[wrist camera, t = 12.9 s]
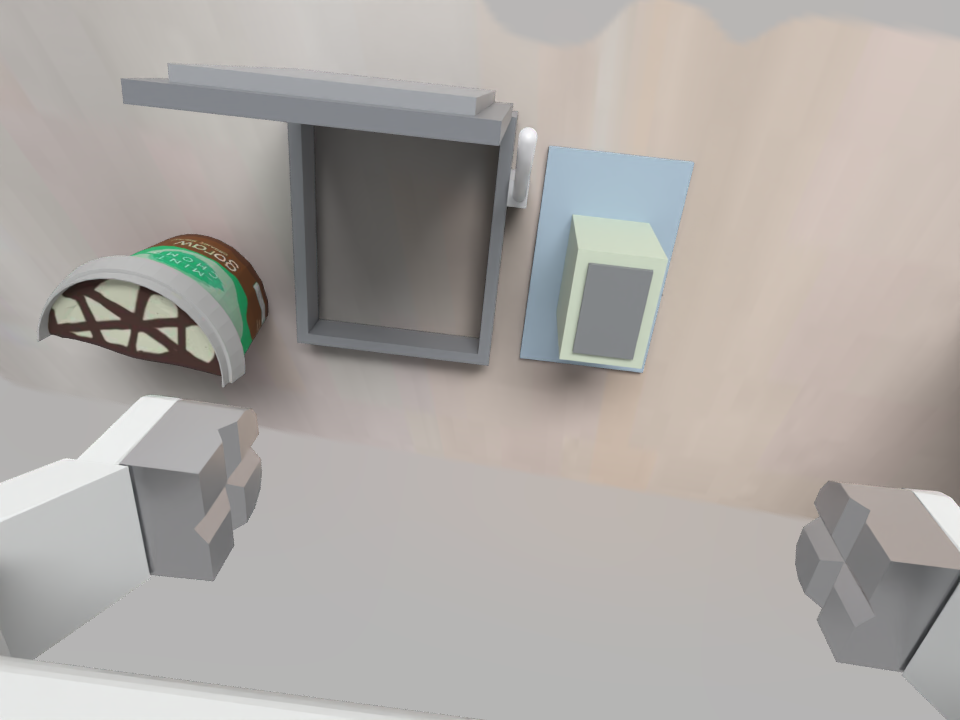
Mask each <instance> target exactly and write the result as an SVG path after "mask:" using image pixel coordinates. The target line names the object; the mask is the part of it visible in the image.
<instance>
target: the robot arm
mask: <svg viewBox="0 0 960 720" xmlns="http://www.w3.org/2000/svg"><path fill="white" fill-rule="evenodd" d="M258 435H259V431H258V422H257V415H256V413H255V412H254V411H253V410H252V409H251V408H244V407H238V406H231V405H224V404H217V403H210V402H203V401H196V400H189V399H181V398H175V397H166V396H158V395H147V396H142V397H141V398H140V399H139V400H138V401H137V402H135V403H134V404H133V405H132V406H131V407H130V408H129V409H128V410H127V411H126V412H125V413H124V414H123V415H122V416H121V417H120V418H119V419H118V420H117V421H116V422H115V423H114V424H113V425H112V426H111V427H110V428H109V429H108V430H107V431H106V432H105V433H103V434H102V435H101V436H100V437H99V439H97V440H96V441H95V442H94V443H93V444H92V445H91V446H90V447H89V448H88V449H87V450H86V451H85V452H84V453H83V454H82V455H81V456H80V457H79V458H78V459H77V460H75V459H66V458H65V459H62V460H59V461H57V462H54V463H51V464H49V465H46V466H43V467H41V468H38V469H36V470H33V471H30V472H28V473H25V474H22V475H20V476H17V477H15V478H12V479H9V480H7V481H4V482H1V483H0V720H481V719H474V718H467V717H460V716H452V715H444V714H436V713H429V712H422V711H414V710H407V709H398V708H391V707H384V706H377V705H369V704H362V703H354V702H347V701H346V702H345V701H339V700H331V699H323V698H316V697H308V696H301V695H293V694H286V693H279V692H271V691H264V690H256V689H248V688H241V687H234V686H226V685H219V684H211V683H203V682H195V681H189V680H181V679H173V678H166V677H158V676H151V675H143V674H136V673H128V672H120V671H113V670H106V669H98V668H90V667H83V666H76V665H68V664H60V663H53V662H45V661H38V660H34V659H35V658H37V657H38V656H39V655H41V654H42V653H44V652H45V651H47V650H48V649H49V648H51V647H52V646H54V645H55V644H57V643H58V642H60V641H61V640H62V639H64V638H65V637H67V636H68V635H70V634H71V633H73V632H74V631H75V630H76V629H78V628H80V627H81V626H83V625H84V624H85V623H87V622H88V621H90V620H91V619H93V618H94V617H95V616H97V615H98V614H100V613H101V612H102V611H104V610H105V609H107V608H108V607H110V606H111V605H113V604H114V603H116V602H117V601H119V600H120V599H121V598H123V597H124V596H126V595H127V594H129V593H130V592H131V591H133V590H134V589H136V588H137V587H139V586H140V585H141V584H143V583H144V582H146V581H147V580H149V579H150V575H158V576H167V577H177V578H187V579H197V580H206V581H214V580H215V578H216V576H217V574H218V572H219V571H220V569H221V567H222V566H223V564H224V562H225V560H226V559H227V557H228V555H229V553H230V552H231V550H232V548H233V547H234V538H233V530H235V529H236V528H238V527H240V526H242V525H244V524H245V523H247V522H248V520H249V518H250V516H251V514H252V512H253V510H254V509H255V506H256V502H257V499H258V495H259V492H260V488H261V487H260V486H261V477H262V469H261V459H260V457H259V456H258V455H257V454H256V453H255V451H254V450H253V449H252V448H251V445H252V444H253V442H254V441H255V439H256V437H257V436H258ZM814 504H815V506H816V509H817V511H818V514H819V517H818V518H816V519H815V520H813V521H812V522H810V523H809V524H807V525H806V526H804V527H803V530H802V532H801V535H800V537H799V540H798V542H797V545H796V561H795V565H796V570H797V575H798V579H799V582H800V584H801V586H802V588H803V591H804V593H805V594H806V595H807V596H808V597H810V598H811V599H812V600H813V601H814V602H815V603H817V604H818V605H819V606H820V607H821V608H822V609H821V612H820V614H819V616H818V618H817V621H818V623H819V626H820V628H821V630H822V632H823V634H824V636H825V639H826V641H827V643H828V645H829V647H830V649H831V651H832V653H833V656H834V658H835V660H836V662H840V663H846V664H853V665H859V666H865V667H872V668H878V669H885V670H891V671H897V672H903V674H902V676H903V677H904V678H905V679H906V680H907V681H908V682H909V683H910V684H911V685H912V686H913V687H914V688H915V689H916V690H917V691H918V692H919V693H920V694H921V695H922V696H923V697H924V698H926V700H927V701H928V702H929V703H930V704H931V705H932V706H933V707H934V708H935V709H936V710H937V711H938V712H939V713H941V715H942V716H943V717H945V718H946V719H947V720H960V507H959V506H958V505H957V504H956V503H955V501H954V500H953V499H952V498H951V497H949V496H947V495H945V494H943V493H942V492H940V491H929V490H918V489H907V488H902V489H899V488H890V487H881V486H872V485H863V484H854V483H845V482H836V481H828V482H827V483H826V484H825V485H824V486H823V487H822V488H821V489H820V491H819V493H818V495H817V498H816V500H815V502H814Z"/></svg>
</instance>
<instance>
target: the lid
mask: <svg viewBox="0 0 960 720" xmlns="http://www.w3.org/2000/svg"><path fill="white" fill-rule="evenodd" d="M168 74H169V78H121V85H122V94H123V103H124V104H131V105H140V106H149V107H158V108H167V109H176V110H184V111H193V112H202V113H211V114H220V115H229V116H238V117H246V118H255V119H264V120H273V121H282V122H291V123H300V124H309V125H317V126H326V127H335V128H344V129H353V130H362V131H371V132H379V133H388V134H397V135H406V136H415V137H424V138H433V139H442V140H450V141H459V142H468V143H477V144H486V145H495V146H499V145H500V143H501V140H502V138H503V136H504V134H505V132H506V129H507V127H508V125H509V123H510V121H511V117H512V108H513V104H511V103H502V102H495V92H496V91H493V90H484V89H475V88H466V87H457V86H448V85H439V84H430V83H421V82H412V81H403V80H394V79H385V78H376V77H367V76H358V75H349V74H340V73H331V72H322V71H313V70H304V69H291V68H268V67H245V66H222V65H199V64H176V63H168Z"/></svg>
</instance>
